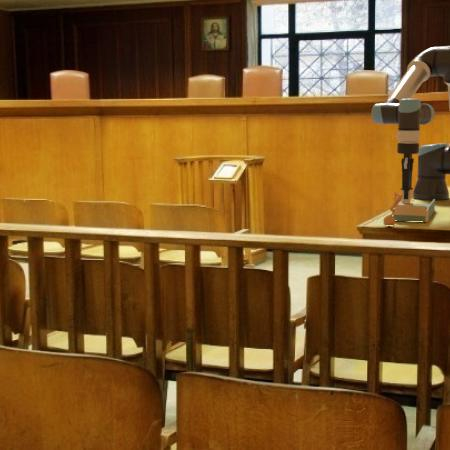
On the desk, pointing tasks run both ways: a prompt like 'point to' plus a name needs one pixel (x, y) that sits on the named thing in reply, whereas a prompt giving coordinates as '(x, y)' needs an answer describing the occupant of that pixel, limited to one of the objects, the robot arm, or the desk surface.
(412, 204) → the birch block
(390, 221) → the figurine
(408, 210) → the box
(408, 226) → the desk surface
